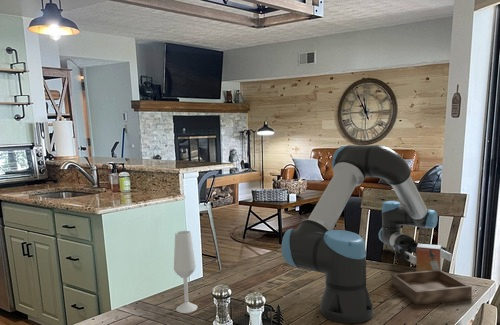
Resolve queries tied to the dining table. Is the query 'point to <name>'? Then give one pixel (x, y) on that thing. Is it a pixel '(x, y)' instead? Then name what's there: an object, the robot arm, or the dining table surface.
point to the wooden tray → (431, 287)
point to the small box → (428, 257)
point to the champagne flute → (184, 265)
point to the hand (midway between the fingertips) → (433, 259)
